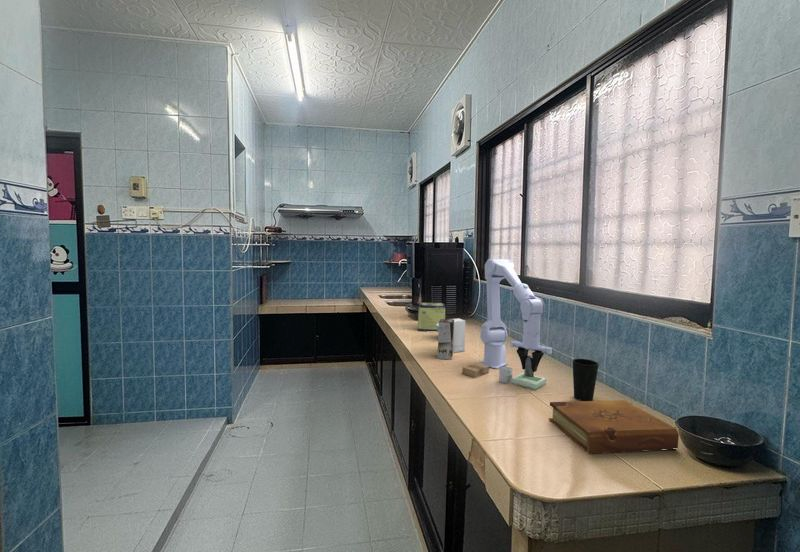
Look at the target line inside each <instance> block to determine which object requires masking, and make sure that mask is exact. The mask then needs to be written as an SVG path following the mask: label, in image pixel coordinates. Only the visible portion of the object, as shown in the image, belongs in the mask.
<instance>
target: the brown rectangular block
mask: <svg viewBox="0 0 800 552" xmlns="http://www.w3.org/2000/svg"><path fill="white" fill-rule="evenodd" d="M489 373H490V367H489V366H486V365H482V364H480V363H478V362H474V363H472V364H468V365H465V366H463V367H462V368H461V374H462V375H464V376H467V377H470V378H474V379H477V378H479V377H482V376H484V375H487V374H488V375H489Z"/></svg>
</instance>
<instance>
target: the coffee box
mask: <svg viewBox="0 0 800 552" xmlns="http://www.w3.org/2000/svg"><path fill="white" fill-rule="evenodd" d="M452 319H453V318H447V319H446V318H445V319H440V321H439V333H437V336H438V337H437V338H438V339H437V359H440V360H449V361H450V360H452V359H453V356H454V353H453V341H454V320H452Z"/></svg>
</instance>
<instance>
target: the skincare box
mask: <svg viewBox="0 0 800 552" xmlns="http://www.w3.org/2000/svg"><path fill="white" fill-rule="evenodd" d="M451 319H452V320H454V341H453V352H454V353H459V352H460V351H461V352H465V350H466V349H465V348H466V347H465V346H466V344H465V343H466V320H465V319H461V318H459V317H458V318H451Z"/></svg>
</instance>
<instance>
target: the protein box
mask: <svg viewBox="0 0 800 552" xmlns="http://www.w3.org/2000/svg"><path fill="white" fill-rule="evenodd" d="M440 319H446V304H445V303H444V302H443V303H442V302H418V313H417V331H418V332H427V331H437V327H436V324H438V323H439V321H440Z"/></svg>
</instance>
